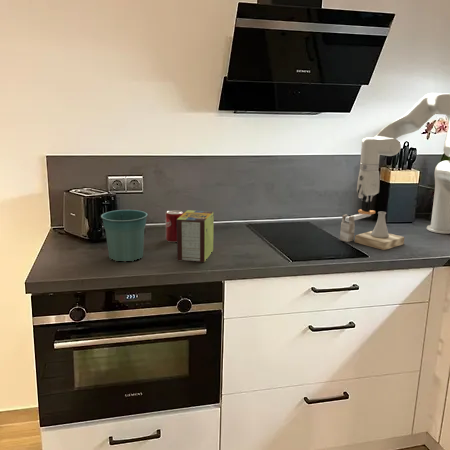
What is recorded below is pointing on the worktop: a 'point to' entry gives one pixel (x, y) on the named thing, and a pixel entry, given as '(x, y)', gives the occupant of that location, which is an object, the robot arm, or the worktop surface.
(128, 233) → the flower pot
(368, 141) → the robot arm
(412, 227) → the worktop surface
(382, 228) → the flask
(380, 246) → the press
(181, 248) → the protein box
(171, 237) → the soda can
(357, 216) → the lever
